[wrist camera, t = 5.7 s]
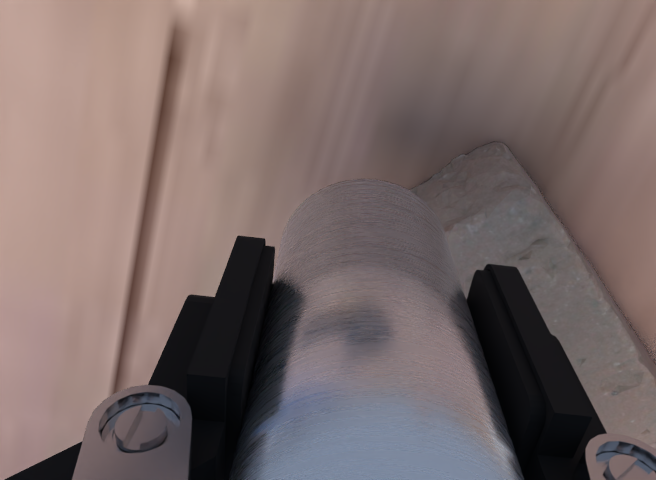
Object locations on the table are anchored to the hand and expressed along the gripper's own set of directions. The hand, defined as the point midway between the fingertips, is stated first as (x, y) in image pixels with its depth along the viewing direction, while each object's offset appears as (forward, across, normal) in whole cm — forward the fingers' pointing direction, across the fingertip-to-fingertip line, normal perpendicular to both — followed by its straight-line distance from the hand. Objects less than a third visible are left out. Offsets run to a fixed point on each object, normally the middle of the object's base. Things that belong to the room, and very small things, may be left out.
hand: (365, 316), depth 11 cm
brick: (+12, -8, +8) cm, 17 cm away
